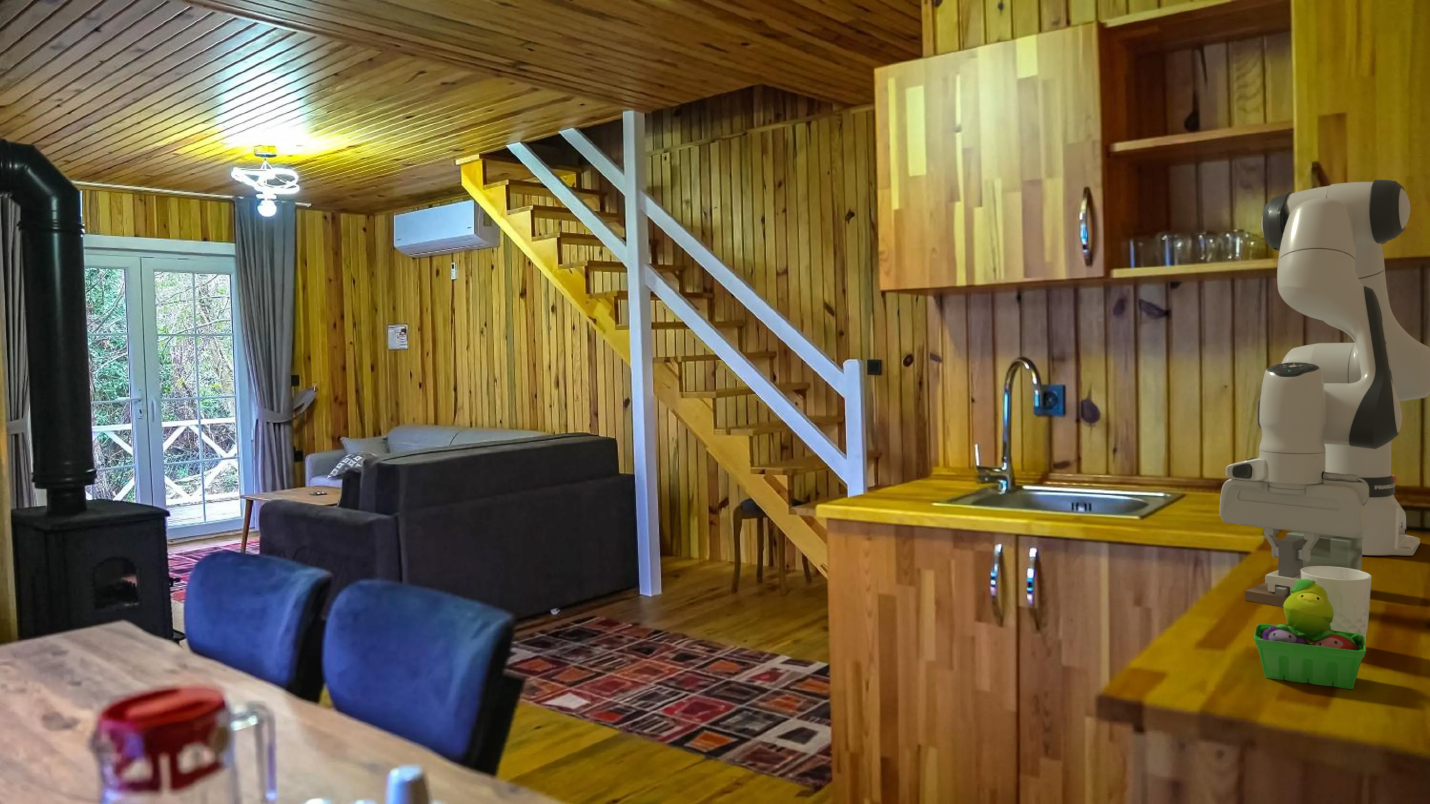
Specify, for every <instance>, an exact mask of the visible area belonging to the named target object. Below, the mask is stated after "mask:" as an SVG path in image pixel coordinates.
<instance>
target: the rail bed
mask: <svg viewBox="0 0 1430 804" xmlns="http://www.w3.org/2000/svg"><path fill="white" fill-rule="evenodd" d="M1289 536H1290V537H1298V538H1303V547H1304V545H1305V544H1306V542H1307V541H1308V540H1305V539H1304V532H1297V531H1289V532H1288V533H1285V538H1286V537H1289ZM1311 566H1332V567H1343V568H1350V569H1355V570H1360V571H1363V568H1362V567H1363V555H1362V537H1359V538H1347V537H1335V538H1325V537H1319V539H1318V541H1317V542H1316V544H1315V545H1314V546H1313V548H1312V549H1311V556H1310V561H1308V562H1303V568H1305V567H1311ZM1289 596H1290V587H1288V586H1282V585H1281V586H1279V587H1277V588H1275V592H1271V591H1268V583H1265V582H1264V583H1261V584H1258V585H1256V586H1254V587H1250V588H1249V589H1246V590H1244V600H1245V601H1247V602H1251V603H1252V602H1254V603H1260V604H1263V605H1270V606H1277V607H1283V605H1284V602H1285V601H1286V599H1287V598H1288V597H1289Z"/></svg>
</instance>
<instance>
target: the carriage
mask: <svg viewBox="0 0 1430 804" xmlns="http://www.w3.org/2000/svg"><path fill="white" fill-rule="evenodd" d="M1278 540H1279V547H1278V558H1277V560H1278V565H1277V568H1278V569H1277V570H1275V571H1271V572H1269V573H1266V574H1265V575H1264V583H1268V591H1271V592H1275V588H1277V587H1279V586H1281V585H1282V586H1288V587H1290V591H1291V590H1292V589H1293V587H1294V585H1295V583H1296V582H1297V581H1298V580H1301V571H1300V570H1301V569H1302V568H1303V561H1297V560H1296V556H1297V555H1296V549H1299V548H1303V538H1298V537H1290V536H1289V537H1286V536H1285V537H1283V538H1281V539H1278ZM1290 595H1291V592H1290Z"/></svg>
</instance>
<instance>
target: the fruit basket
mask: <svg viewBox="0 0 1430 804" xmlns="http://www.w3.org/2000/svg"><path fill="white" fill-rule="evenodd" d="M1290 592H1291V595H1290V596H1289V597H1288V598H1287V599H1286V601H1285V602H1284V605H1283V612H1284V616H1285V619H1286V623H1287V624H1285V623H1282V624H1281V623H1280V624H1270V623H1259V624H1256V626H1255V629H1254V630H1255V631H1254V635H1253V640H1254V643H1255V646H1257V651H1258V655H1259V657H1260V662H1261V665H1262V666H1261V667H1262V670H1263V673H1264V677H1265V678H1266V679H1273V680H1281V681H1283V680H1284V681H1288V682H1295V683H1301V684H1302V683H1303V684H1311V685H1317V686H1326V687H1334V688H1340V689H1345V690H1346V689H1348V690H1354V687H1355V683H1356V680H1357V677H1358V673H1359V670H1360V667H1361V664H1362V660H1363V659H1364V658H1365V655H1366V652H1367V647H1366V642H1365V636H1364V635H1361V634H1358V633H1350V632H1342V631H1334V630H1331V627H1330V623H1331V622H1332V620H1333V617H1334V612H1333V608H1332V606H1331V604H1330V602H1329V600H1328V596H1327V593H1326V591H1325V590H1324V588H1322V587H1321V586H1320V585H1318V584H1316V583H1315V581H1314V580H1309V579H1301V580H1298V581H1297V582H1296V583H1295V585H1294V587H1293V589H1292V590H1291V591H1290Z"/></svg>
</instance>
